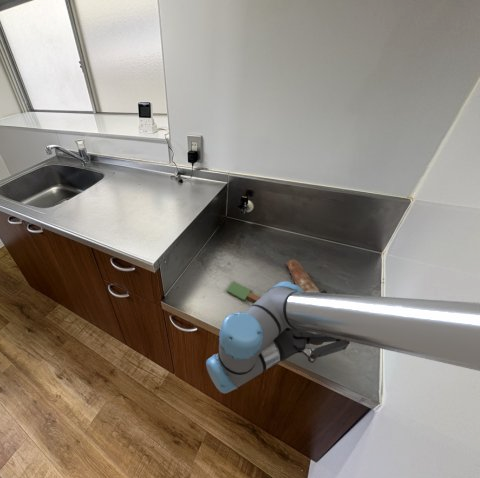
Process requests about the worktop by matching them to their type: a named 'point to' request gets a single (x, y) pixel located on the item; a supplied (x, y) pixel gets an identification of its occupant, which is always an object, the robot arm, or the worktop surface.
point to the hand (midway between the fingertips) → (339, 306)
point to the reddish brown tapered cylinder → (301, 277)
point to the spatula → (242, 292)
